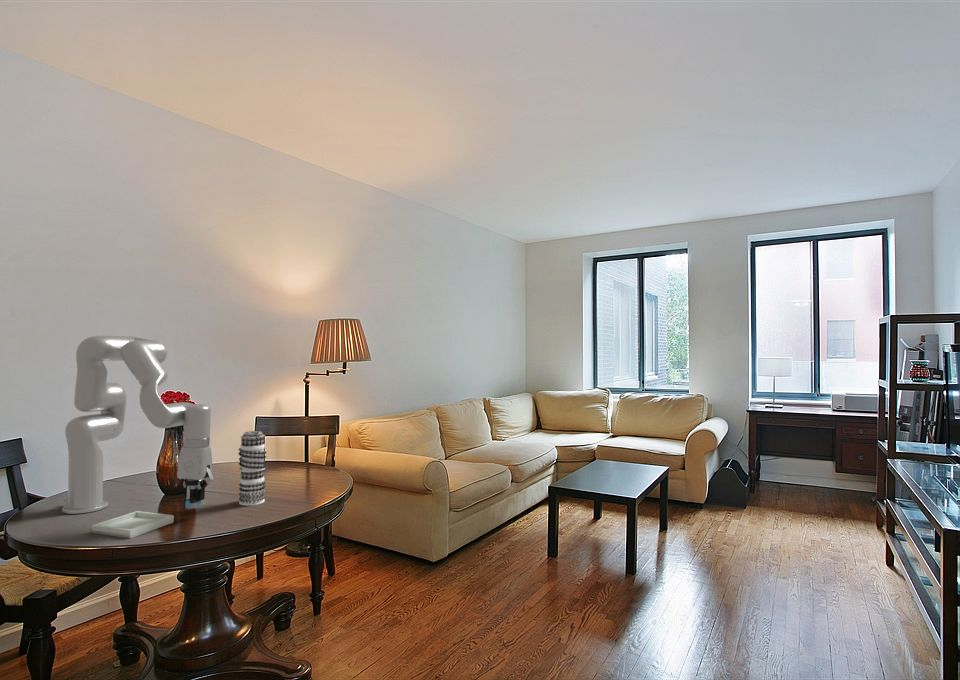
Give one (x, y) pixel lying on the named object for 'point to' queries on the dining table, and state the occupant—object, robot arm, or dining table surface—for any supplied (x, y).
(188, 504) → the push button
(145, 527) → the tray
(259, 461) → the decorative candle
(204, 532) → the dining table surface
